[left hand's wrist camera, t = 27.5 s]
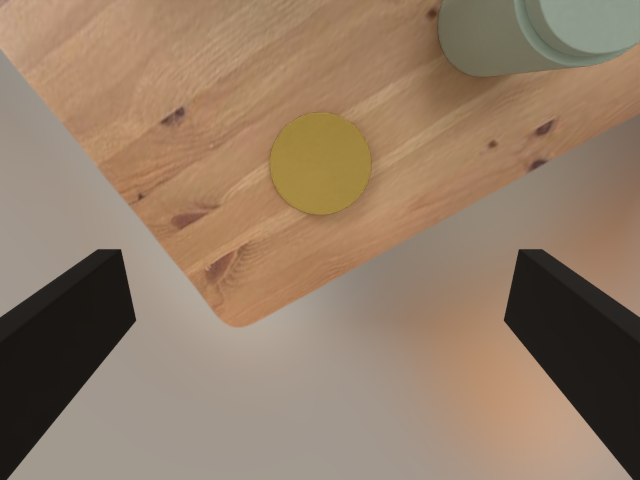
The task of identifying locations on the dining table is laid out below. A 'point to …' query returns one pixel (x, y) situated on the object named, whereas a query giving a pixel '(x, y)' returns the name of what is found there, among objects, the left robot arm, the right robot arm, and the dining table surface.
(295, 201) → the lid
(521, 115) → the dining table surface
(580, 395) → the left robot arm
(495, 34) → the jar
